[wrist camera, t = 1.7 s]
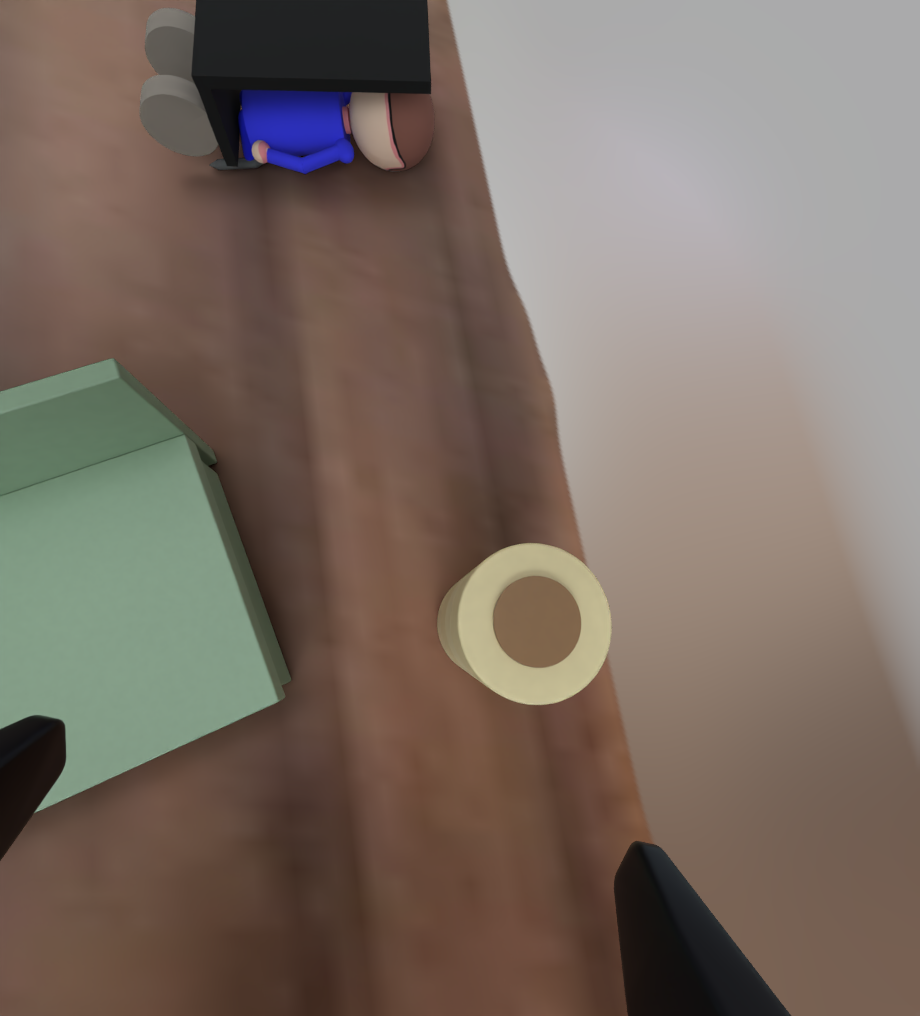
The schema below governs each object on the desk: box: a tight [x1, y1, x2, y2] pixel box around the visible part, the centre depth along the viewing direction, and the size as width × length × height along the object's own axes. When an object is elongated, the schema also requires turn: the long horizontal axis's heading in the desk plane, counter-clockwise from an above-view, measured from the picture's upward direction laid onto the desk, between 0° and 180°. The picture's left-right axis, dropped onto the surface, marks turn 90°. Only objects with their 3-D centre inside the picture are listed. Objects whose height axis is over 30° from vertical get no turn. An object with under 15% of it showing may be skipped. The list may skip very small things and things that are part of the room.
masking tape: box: [437, 543, 612, 705], centre depth 20 cm, size 5×5×10 cm
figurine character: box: [140, 0, 435, 174], centre depth 27 cm, size 7×8×15 cm
